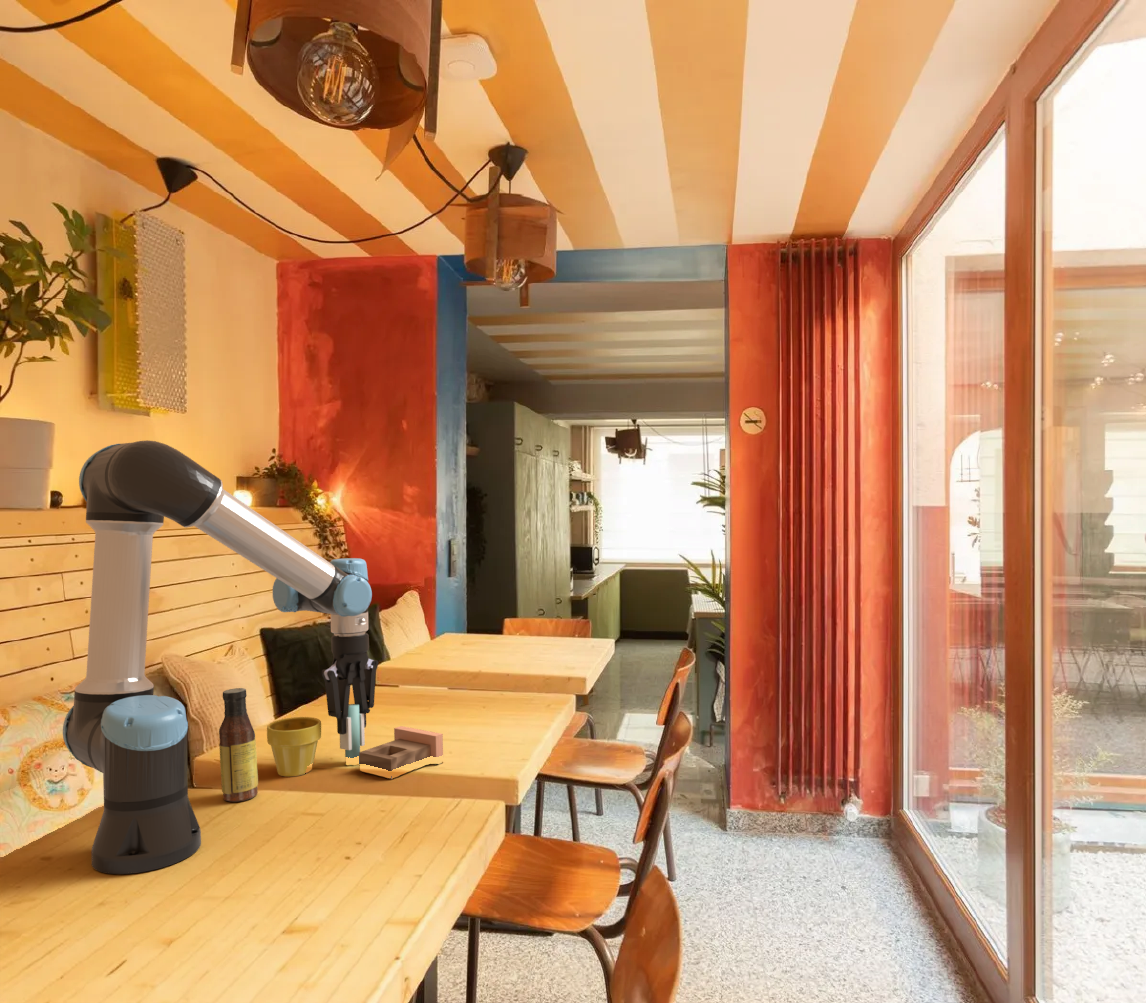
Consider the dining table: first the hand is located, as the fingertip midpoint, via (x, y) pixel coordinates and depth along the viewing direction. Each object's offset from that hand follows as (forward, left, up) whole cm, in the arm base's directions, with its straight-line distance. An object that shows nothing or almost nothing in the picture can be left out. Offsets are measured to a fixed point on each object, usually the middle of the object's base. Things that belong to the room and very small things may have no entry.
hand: (352, 746), depth 172 cm
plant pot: (-9, +6, -4) cm, 12 cm away
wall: (+9, -10, -4) cm, 14 cm away
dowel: (0, 0, -4) cm, 4 cm away
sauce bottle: (-24, +3, -4) cm, 25 cm away
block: (+2, -10, -4) cm, 11 cm away
